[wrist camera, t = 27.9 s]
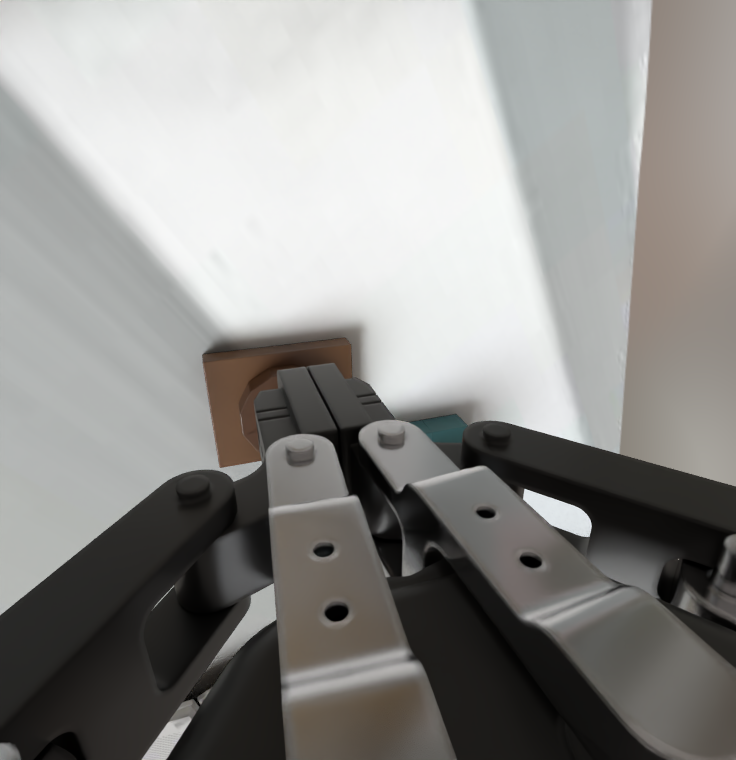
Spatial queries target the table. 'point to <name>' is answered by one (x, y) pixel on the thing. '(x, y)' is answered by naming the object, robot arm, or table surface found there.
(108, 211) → the table surface
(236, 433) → the switch box
